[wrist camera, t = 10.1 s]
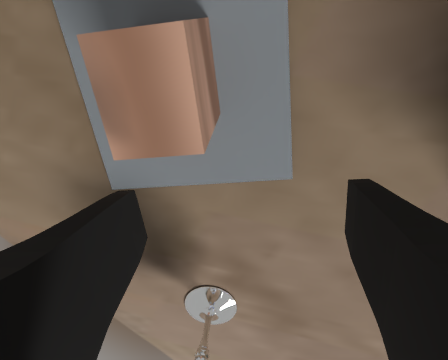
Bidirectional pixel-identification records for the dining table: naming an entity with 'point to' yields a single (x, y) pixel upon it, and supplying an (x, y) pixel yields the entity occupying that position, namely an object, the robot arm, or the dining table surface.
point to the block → (154, 87)
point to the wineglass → (209, 312)
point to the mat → (226, 85)
